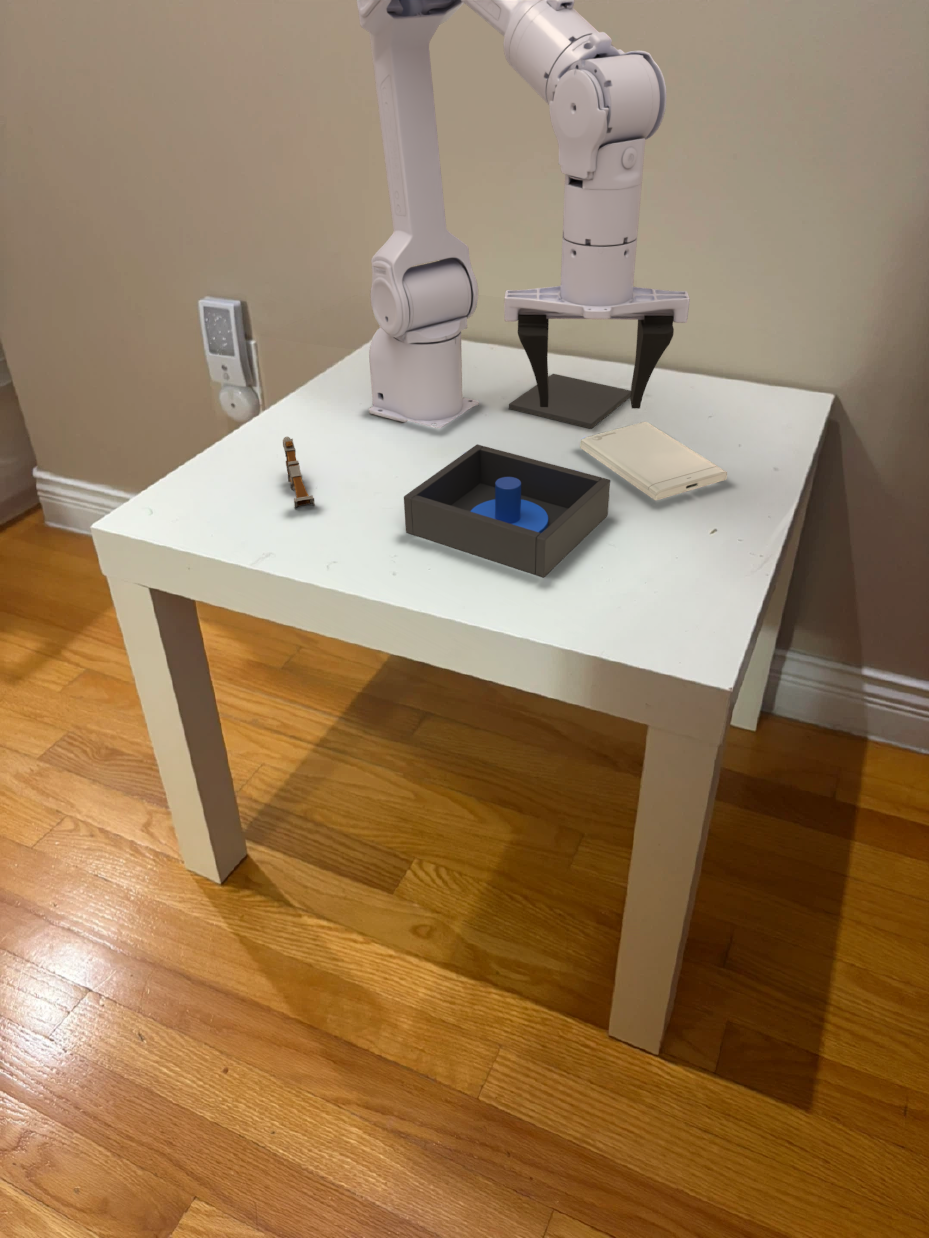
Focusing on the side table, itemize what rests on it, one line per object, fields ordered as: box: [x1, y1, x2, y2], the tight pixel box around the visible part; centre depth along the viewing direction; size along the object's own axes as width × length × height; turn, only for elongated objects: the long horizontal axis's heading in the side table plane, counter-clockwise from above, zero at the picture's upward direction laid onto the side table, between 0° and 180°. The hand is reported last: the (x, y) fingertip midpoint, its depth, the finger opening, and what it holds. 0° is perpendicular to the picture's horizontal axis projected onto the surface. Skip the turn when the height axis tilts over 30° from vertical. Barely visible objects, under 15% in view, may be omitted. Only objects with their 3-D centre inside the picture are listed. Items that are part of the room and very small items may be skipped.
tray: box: [403, 443, 611, 579], centre depth 83 cm, size 14×12×4 cm
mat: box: [508, 373, 631, 429], centre depth 105 cm, size 10×10×1 cm
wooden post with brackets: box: [282, 436, 316, 508], centre depth 89 cm, size 2×8×4 cm, turn 18°
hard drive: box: [579, 421, 728, 501], centre depth 92 cm, size 2×8×12 cm
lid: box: [470, 477, 548, 533], centre depth 82 cm, size 7×7×4 cm
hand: (589, 403), depth 82 cm, fingers open, 7 cm apart
